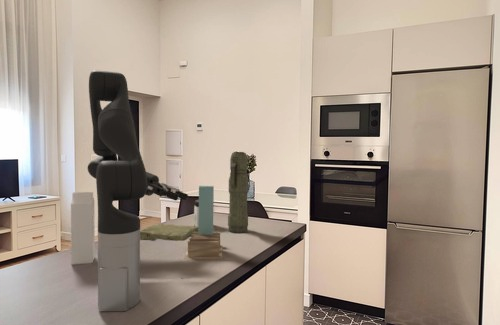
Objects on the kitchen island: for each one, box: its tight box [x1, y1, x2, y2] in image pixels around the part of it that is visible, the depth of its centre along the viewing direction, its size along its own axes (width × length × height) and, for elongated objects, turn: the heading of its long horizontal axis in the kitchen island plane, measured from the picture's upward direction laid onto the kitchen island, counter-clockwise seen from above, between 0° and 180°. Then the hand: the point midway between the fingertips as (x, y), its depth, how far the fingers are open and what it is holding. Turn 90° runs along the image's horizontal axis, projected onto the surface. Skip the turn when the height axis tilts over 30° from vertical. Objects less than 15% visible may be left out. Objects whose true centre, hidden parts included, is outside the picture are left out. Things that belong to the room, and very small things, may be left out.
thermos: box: [227, 151, 249, 234], centre depth 151 cm, size 9×12×35 cm
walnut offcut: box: [193, 236, 217, 238], centre depth 118 cm, size 2×8×5 cm, turn 93°
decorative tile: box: [140, 223, 199, 241], centre depth 142 cm, size 19×20×4 cm
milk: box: [70, 191, 96, 266], centre depth 108 cm, size 6×6×22 cm
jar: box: [193, 199, 199, 228], centre depth 160 cm, size 9×8×12 cm
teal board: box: [198, 185, 215, 235], centre depth 121 cm, size 2×5×22 cm, turn 93°
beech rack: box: [184, 231, 224, 260], centre depth 118 cm, size 16×12×6 cm
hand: (182, 197), depth 117 cm, fingers open, 8 cm apart
